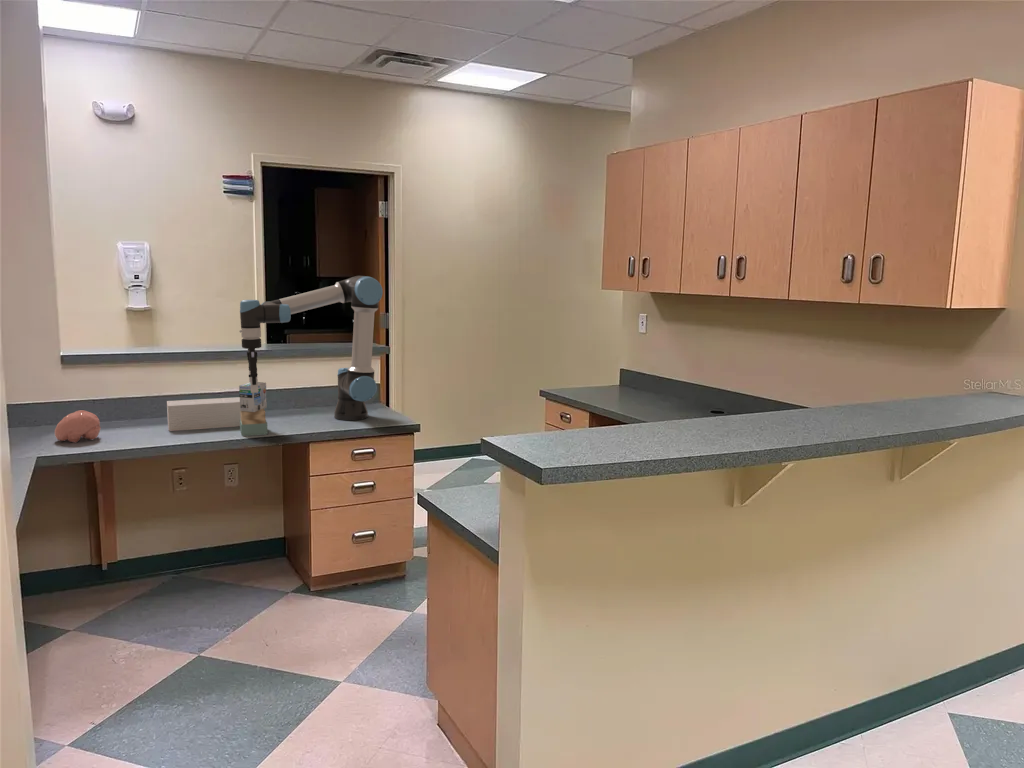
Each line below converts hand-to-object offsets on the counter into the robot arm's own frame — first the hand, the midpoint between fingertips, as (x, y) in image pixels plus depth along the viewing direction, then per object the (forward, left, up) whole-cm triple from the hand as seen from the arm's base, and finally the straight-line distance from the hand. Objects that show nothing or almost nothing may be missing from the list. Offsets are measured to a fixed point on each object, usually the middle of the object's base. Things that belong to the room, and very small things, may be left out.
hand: (253, 389), depth 302 cm
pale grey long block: (+18, -17, -18) cm, 30 cm away
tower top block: (+1, +1, -13) cm, 13 cm away
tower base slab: (+1, 0, -18) cm, 18 cm away
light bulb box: (0, 0, -9) cm, 9 cm away
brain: (+64, -3, -18) cm, 67 cm away
